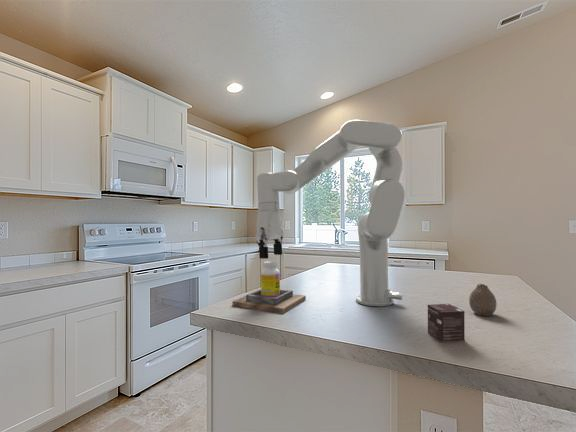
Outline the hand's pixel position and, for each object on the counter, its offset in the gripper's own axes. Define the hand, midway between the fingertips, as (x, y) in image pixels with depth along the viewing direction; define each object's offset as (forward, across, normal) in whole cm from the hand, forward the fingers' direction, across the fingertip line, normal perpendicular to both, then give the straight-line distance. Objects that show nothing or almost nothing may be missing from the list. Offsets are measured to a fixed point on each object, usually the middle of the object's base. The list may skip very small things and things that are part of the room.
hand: (271, 256), depth 106 cm
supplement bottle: (+15, 0, -1) cm, 15 cm away
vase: (+19, -15, +64) cm, 68 cm away
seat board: (+16, +1, -1) cm, 16 cm away
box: (+18, +9, +54) cm, 57 cm away
